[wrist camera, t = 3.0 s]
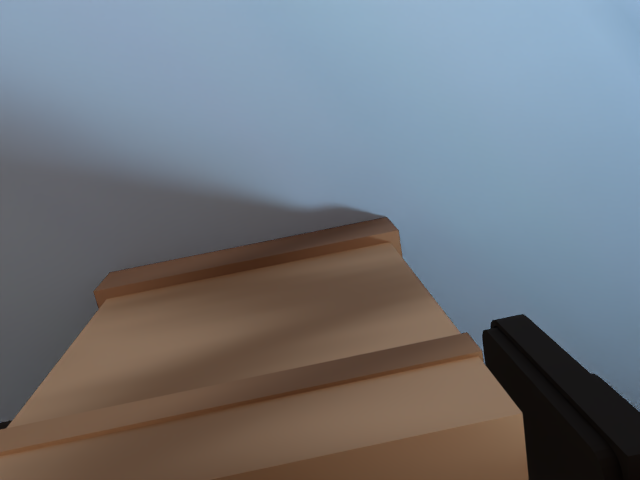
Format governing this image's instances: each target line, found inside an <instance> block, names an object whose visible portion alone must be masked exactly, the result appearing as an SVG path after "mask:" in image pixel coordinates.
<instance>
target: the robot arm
mask: <svg viewBox="0 0 640 480" xmlns="http://www.w3.org/2000/svg"><path fill="white" fill-rule="evenodd" d="M482 336H483V347H484V356H485V365H486V367H487V368H488V369H489V370H490V372H491V373H492V374H493V376H494V377H495V378H496V380H497V381H498V382H499V383H500V385H501V386H502V387H503V389H504V390H505V391H506V392H507V394H508V395H509V396H510V398H511V399H512V400H513V402H514V403H515V404H516V405H517V407H518V408H519V409H520V411H521V412H522V414H523V424H524V435H525V445H526V456H527V467H528V477H529V480H640V412H639V411H638V410H636V409H635V408H634V407H633V406H632V405H631V404H630V403H629V402H627V401H626V400H625V399H624V398H623V397H622V396H621V395H619V394H618V393H617V392H616V391H615V390H614V389H613V388H611V387H610V386H609V385H608V384H607V383H606V382H605V381H604V380H602V379H601V378H600V377H598V376H597V375H595V374H590V373H589V372H588V371H587V370H586V369H585V368H584V367H582V366H581V365H580V364H579V363H578V362H577V361H576V360H575V359H573V358H572V357H571V356H570V355H569V354H568V353H567V352H566V351H565V350H563V349H562V348H561V347H560V346H559V345H558V344H557V343H556V342H554V341H553V340H552V339H551V338H550V337H549V336H548V335H547V334H546V333H544V332H543V331H542V330H541V329H540V328H539V327H538V326H537V325H535V324H534V323H533V322H532V321H531V320H530V319H529V318H528V317H526V316H525V315H523V314H521V315H516V316H511V317H507V318H502V319H497V320H493V321H492V322H491V329H487V330H484V331H483V335H482ZM11 422H12V421H7V422H2V423H0V429H5V428H7V427H8V426H9V424H10V423H11Z"/></svg>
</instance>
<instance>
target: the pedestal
mask: <svg viewBox="0 0 640 480" xmlns="http://www.w3.org/2000/svg"><path fill="white" fill-rule="evenodd" d="M93 292H94V295H95V298H96V301H97V305H98V308H99V309H98V311H97V312H96V313H95V315H94V316H93V317H92V319H91V320H90V321H89V322H88V324H87V325H86V326H85V328H84V329H83V330H82V331H81V333H80V334H79V335H78V337H77V338H76V339H75V340H74V342H73V343H72V344H71V346H70V347H69V348H68V349H67V351H66V352H65V353H64V355H63V356H62V357H61V359H60V360H59V361H58V362H57V364H56V365H55V366H54V368H53V369H52V370H51V371H50V373H49V374H48V375H47V377H46V378H45V379H44V380H43V382H42V383H41V384H40V386H39V387H38V388H37V389H36V391H35V392H34V393H33V395H32V396H31V397H30V399H29V400H28V401H27V402H26V404H25V405H24V406H23V408H22V409H21V410H20V411H19V413H18V414H17V415H16V417H15V418H14V419H13V420H12V422H11V423H10V424H9V426H8V427H7V428H5V429H0V480H529V477H528V467H527V456H526V445H525V435H524V424H523V414H522V412H521V411H520V409H519V408H518V407H517V405H516V404H515V403H514V402H513V400H512V399H511V398H510V396H509V395H508V394H507V392H506V391H505V390H504V389H503V387H502V386H501V385H500V383H499V382H498V381H497V380H496V378H495V377H494V376H493V374H492V373H491V372H490V370H489V369H488V368H487V367H486V365H485V364H484V363H483V354H482V350H481V349H480V348H479V347H478V345H477V344H476V343H475V342H474V340H473V339H472V338H471V337H470V335H469V334H468V333H462V334H461V333H460V332H459V330H458V329H457V328H456V327H455V325H454V324H453V323H452V321H451V320H450V319H449V318H448V316H447V315H446V314H445V312H444V311H443V310H442V308H441V307H440V306H439V305H438V303H437V302H436V301H435V299H434V298H433V297H432V296H431V294H430V293H429V292H428V290H427V289H426V288H425V286H424V285H423V284H422V283H421V281H420V280H419V279H418V277H417V276H416V275H415V274H414V272H413V271H412V270H411V268H410V267H409V266H408V265H407V263H406V262H405V261H404V259H403V257H402V251H401V244H400V237H399V230H398V229H397V228H396V227H395V226H394V225H393V224H392V222H391V221H390V220H389V219H388V218H387V217H384V218H379V219H374V220H369V221H364V222H359V223H354V224H349V225H344V226H339V227H334V228H329V229H324V230H319V231H314V232H309V233H304V234H299V235H294V236H289V237H284V238H279V239H274V240H269V241H264V242H259V243H254V244H249V245H244V246H239V247H234V248H229V249H224V250H219V251H214V252H209V253H204V254H199V255H194V256H189V257H184V258H179V259H174V260H169V261H164V262H159V263H154V264H149V265H144V266H139V267H134V268H129V269H124V270H119V271H114V272H110V273H109V274H108V275H107V276H106V277H105V279H104V280H103V281H102V282H101V283H100V284H99V286H98V287H97V288H96V289H95V290H94V291H93Z"/></svg>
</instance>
